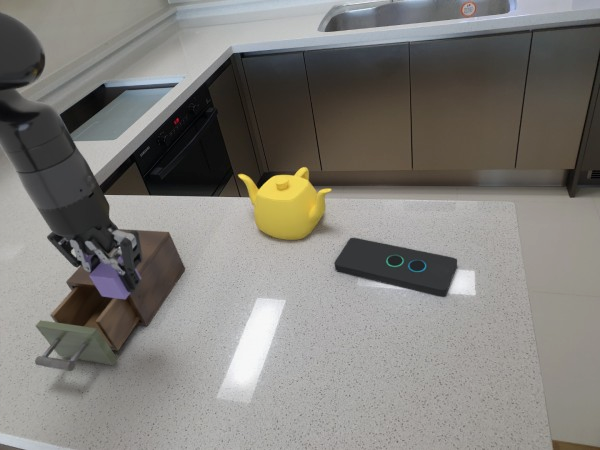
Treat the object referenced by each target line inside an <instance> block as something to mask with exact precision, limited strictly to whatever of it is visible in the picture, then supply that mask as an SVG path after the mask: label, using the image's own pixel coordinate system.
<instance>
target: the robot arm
mask: <svg viewBox="0 0 600 450" xmlns="http://www.w3.org/2000/svg"><path fill="white" fill-rule="evenodd" d="M44 49H45V48H44V46H43V44H42V42H41V40H40V39H39V36H38V35H37V34H36V33H35V32H34V30H32V29H31V28H30V27H29V25H27V24H25V23H24V22H23V21H21V20H20V19H18V18H17V17H15V16H13V15H11V14H8V13H6V12H4V11H0V148H1V150H2V152H3V153H4V155H5V156H6V158H7V159H8V161H9V163H10V164H11V166H12V167H13V169H14V170H15V172H16V174H17V176H18V178H19V180H20V182H21V185H22V187H23V188H24V190H25V192H26V193H27V195H28V197H29V199H30V200H31V201H32V203H33V204H34V206H35V207H36V210H38V213H39V214H40V215H41V217H42V219H43V220H44V222H45V223H46V225H47V226H48V228H49V229H50V231H51V232H50V233H48V235H47V236H46V238H47V241H49V242H50V243H51V245H53V247H54V248H55V249H56V250H57V251H58V252H59V253H60V254H61V255H62V256H63V257H64V258H65V259H66V260H67V261H68V263H70V264H71V266H73V267H74V268H76V269H78V268H79V267H80V266H83V268H84V270H86V271H87V272H90V273H92V272H93V271H94V269H95V268H96V267H97V266H98V265H99V264H100V263H101V261H100V260H102V261H103V262H104V263H105V264H106V265H108V264H110V265H111V266H112V267H113V269H114V270H115V271H116V272H117V273H118V274H119V275H118V276H119V277H120V279H121V281H122V283H123V284H124V286H125V288H126V290H127V291H128V292H131V293H133V292H134V291H135V290H136V289H137V287H138V286H139V285H140V283H141V281H140V278H139V277H138V275H137V273H136V271H135V269H136V268H137V266H138V265H139V264H140V263H141V262H142V261H143V257H142V251H141V245H140V239H139V234H138V232H137V231H135V230H136V229H130V230H131V231H130V232H129V233H125V232H122V231H119V230H118V229H119V227H118V226H117V225H116V224H115V223H114V222H113V220H111V218H110V209H111V208H110V203H109V201H108V200H107V197H106V196H105V193H104V192H103V190H102V188H101V186H100V184H99V182H98V180H97V179H96V177H95V175H94V172H93V171H92V169H91V167H90V164H88V161H87V160H86V158H85V156H84V155H83V154H82V153H81V151H80V150H79V148H78V146H77V145H76V143H75V141H74V139H73V137H72V136H71V134H70V132H69V130H68V128H67V126H66V124H65V123H64V120H63V119H62V117H61V115H60V113H59V112H58V110H57V109H56V108H55V107H54V106H52V105H51V104H50V103H46V102H43V101H38V100H34V99H29V98H28V97H25V96H23V95H22V93H20V92H19V91H18V89H22V88H25V87H28V86H30V85H32V84H33V83H35V82H36V81H37V80H38V79H40V77H41V76H42V74H43V72H44V70H45V66H46V53H45V50H44ZM114 247H115V249H114V250H113V252H112V253H111V254H110V255H108V253H110V252H111V251H112V249H113V248H114ZM72 251H74V253H75V255H74V254H73V253H72ZM119 257H121V259H122V260H123V262H122V263H121V264H120V263H119V262H118V258H119Z"/></svg>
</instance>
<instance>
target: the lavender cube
mask: <svg viewBox="0 0 600 450" xmlns="http://www.w3.org/2000/svg"><path fill="white" fill-rule="evenodd" d="M118 262H119V263H120V264H121V263H122V262H123V260H122V259H121V257H119V258H118ZM135 271H136V273H137V275H138V277H139V278H140V280H141V277H140V275H139V273H138V271H137V269H135ZM118 275H119V274H118V273H117V272H116V271H115V270H114V269H113V267H112V266H111V265H110V264H108V265H106V264H105V263H104V262H103V261H102V262H101V263H100V264H99V265H98V266H97V267H96V268H95V269H94V271H93V272H92V273H91V274H90V275H89V277H90V278H91V280H92V281H93V283H94V285H95V286H96V288H97V289H98V291H99V293H100V294H101V296H103V297H110V298H118V299H126V298H127V297H128V296H129V294H130V293H131V292H128V291H127V290H126V288H125V286H124V284H123V283H122V281H121V279H120V277H119V276H118Z"/></svg>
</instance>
